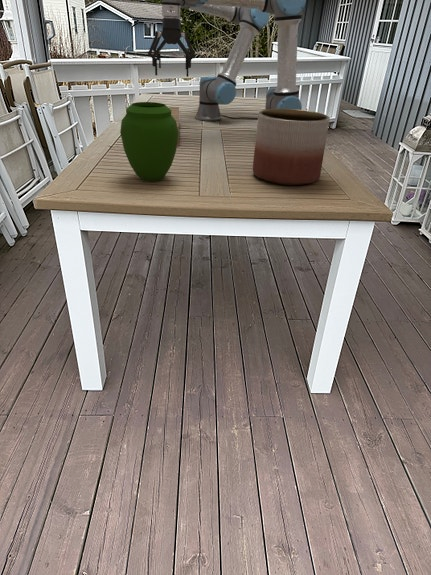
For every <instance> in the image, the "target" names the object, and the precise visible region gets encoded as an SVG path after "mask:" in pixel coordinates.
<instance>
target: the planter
mask: <svg viewBox="0 0 431 575" xmlns="http://www.w3.org/2000/svg"><path fill="white" fill-rule="evenodd" d="M257 118H258V119H257V123H256V133H255V134H256V135H255V141H254V142H255V143H254V150H253V151H254V152H253V160H252V173H253V174H254V175H255V176H256V177H257V178H259V179H261V180H263V181H265V182H269V183H271V184H276V185H283V186H302V185H308V184H311V183H314V182H315V181H317V180H319V179H320V177H321V173H322V167H323V166H322V165H323V161H324V154H325V151H326V150H325V149H326V142H327V138H328V131H329V126H330V120H331V119H330V116H329V115H327V114H324V113H321V112H317V111H314V110H313V111H312V110H305V109H301V110H297V109H266V110H265V109H262V110H259V111H258V114H257Z"/></svg>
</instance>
